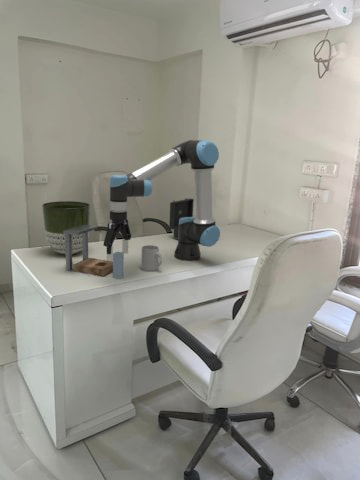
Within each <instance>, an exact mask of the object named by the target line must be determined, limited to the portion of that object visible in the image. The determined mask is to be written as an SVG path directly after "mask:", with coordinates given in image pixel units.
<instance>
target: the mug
mask: <svg viewBox="0 0 360 480" xmlns="http://www.w3.org/2000/svg"><path fill="white" fill-rule="evenodd" d="M159 249H160V247H159V246H157V245H154V244H153V245H152V244H150V245H149V244H148V245H143V246H142V247H141V264H140V269H141V270H143V271H146V272H155V271H157V270H158V269H159V267H161V266H162V263H163V257H162V255H161V253H159V251H160V250H159Z"/></svg>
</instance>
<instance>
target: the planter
mask: <svg viewBox="0 0 360 480" xmlns="http://www.w3.org/2000/svg"><path fill="white" fill-rule="evenodd" d="M41 207H42V216H43V218H42V219H43V226H44V235H45V238H46V242H47V244H48V246H49V247H50V248H51V249H52V250H53V251H54V252H56V253H58V254H61V255H66V246H65V233H63V231H64V230H67V229H70V228H74V227H77V226H80V225H84V224H85V225H91V223H90V222H91V221H90V219H91V218H90V217H91V204H90V203H88V202H84V201H74V200H72V201H70V200H68V201H67V200H66V201H65V200H64V201H63V200H61V201H60V200H58V201H50V202H49V201H48V202H45V203H43V204H42V206H41ZM89 235H90V231H89V232H88V238H89ZM71 237H72V255H74V254H77V253H79V252H80V251H83V250H82V234H80V235H72V234H71Z"/></svg>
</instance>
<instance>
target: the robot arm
mask: <svg viewBox="0 0 360 480" xmlns="http://www.w3.org/2000/svg"><path fill="white" fill-rule="evenodd" d="M219 153H220V152H219V149H218V146H217V145H216V144H215V143H214V142H213V141H210V140H205V139H204V140H200V139H199V140H197V139H196V140H195V139H190V140H186V141H184V142H181V143H179V144H178V145H175V146H174V147H171V148H170V149H169V150H168V152H167V153H165V154H163V155H161V156H160V157H158V158H156V159H154V160H151V162H148V163H147V164H145V165H143V166H141V167H140V168H138V169H136V170H134V171H132V172H131V173H128V174H126V175H123V174H113V175H111V176H110V179H109V210H110V211H109V219H110V220H111V221H112V222H111V223H109V222H108V223H107V229H106V232H105V233H106V234H105V237H104V240H103V246H104V247H106V261H112V262H113V253H114V246H113V245H114V242H115V239H116V237H117V235H118V234H119V233H120V234H121V237H122V241H121V243H122V244H121V245H122V247H121V248H122V250H121V252H123V253H124V255H125V254H129V241H131V237H132V234H131V230H130V226H129V219H128V211H127V210H128V198H131V197H132V198H136V197H137V198H138V197H141V198H144V197H149V196H151V194H152V192H153V184H152V182H151V180H154V179H155V178H156V177H158V176H161V175H162V174H164V173H165V172H167V171H169V170H171V169H173V168H175V167H180V166H182V165H185V164H186V165H187V164H190V170H192V172H193V175H194V198H195V200H194V201H195V216H193V217H183V218H180V219H179V224H178V225H179V228H178V238H177V245H176V248H175V251H174V252H173V254H174V258H176V259H177V260H180V261H185V260H186V261H187V262H191V261H192V262H193V260H194V261H199V260H200V259H201V258H202V254H201V252H202V251H201V249H200V246H199V245H201V246H203V247H208V248H209V247H213V246H215V244H217V242H218V241H219V239H220V237H221V230H220V228H219V227H218V226H217V225H216V224H217V223H216V219H215V218H214V217H213V189H212V187H213V186H212V185H213V183H212V182H213V181H212V171H213V170H214V169H215V164H217V162H218V160H219V157H220V154H219ZM186 261H185V262H186Z"/></svg>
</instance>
